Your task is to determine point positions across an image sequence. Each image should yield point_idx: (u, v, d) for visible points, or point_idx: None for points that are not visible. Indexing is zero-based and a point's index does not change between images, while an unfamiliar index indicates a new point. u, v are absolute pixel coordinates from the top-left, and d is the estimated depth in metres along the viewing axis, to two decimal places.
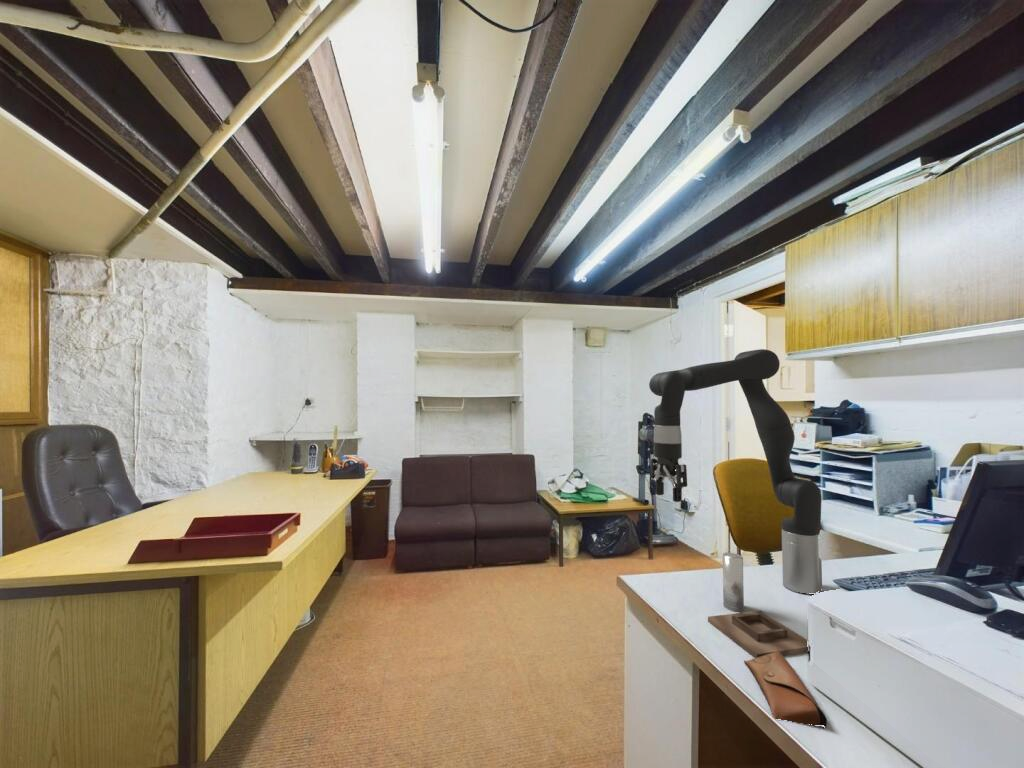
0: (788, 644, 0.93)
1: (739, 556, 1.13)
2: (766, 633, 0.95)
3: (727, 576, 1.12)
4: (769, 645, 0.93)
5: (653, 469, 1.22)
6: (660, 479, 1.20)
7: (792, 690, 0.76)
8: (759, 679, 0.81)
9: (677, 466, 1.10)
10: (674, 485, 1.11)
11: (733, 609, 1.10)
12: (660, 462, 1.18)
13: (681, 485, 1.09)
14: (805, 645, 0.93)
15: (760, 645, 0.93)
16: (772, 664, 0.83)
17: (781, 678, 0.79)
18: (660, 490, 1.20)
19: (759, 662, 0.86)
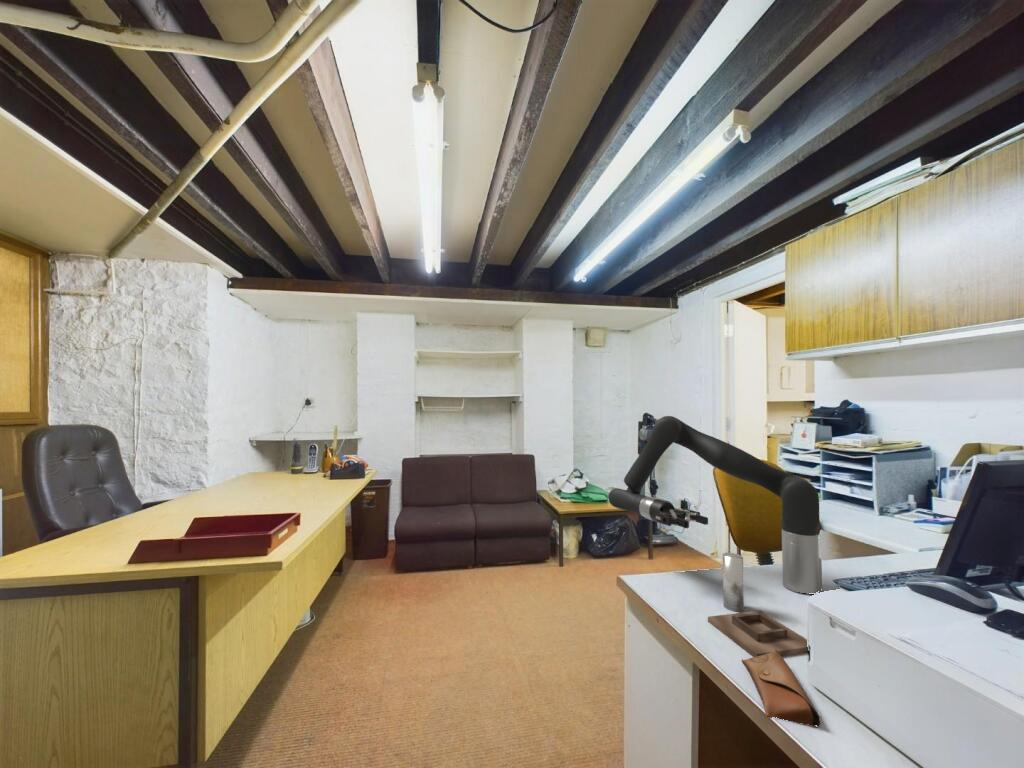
0: (788, 644, 0.93)
1: (739, 556, 1.13)
2: (766, 633, 0.95)
3: (727, 576, 1.12)
4: (769, 645, 0.93)
5: (691, 517, 1.32)
6: (694, 516, 1.29)
7: (786, 689, 0.76)
8: (755, 678, 0.82)
9: None
10: None
11: (733, 609, 1.10)
12: None
13: (668, 523, 1.24)
14: (805, 645, 0.93)
15: (760, 645, 0.93)
16: (768, 663, 0.83)
17: (777, 677, 0.79)
18: (702, 520, 1.26)
19: (756, 662, 0.86)
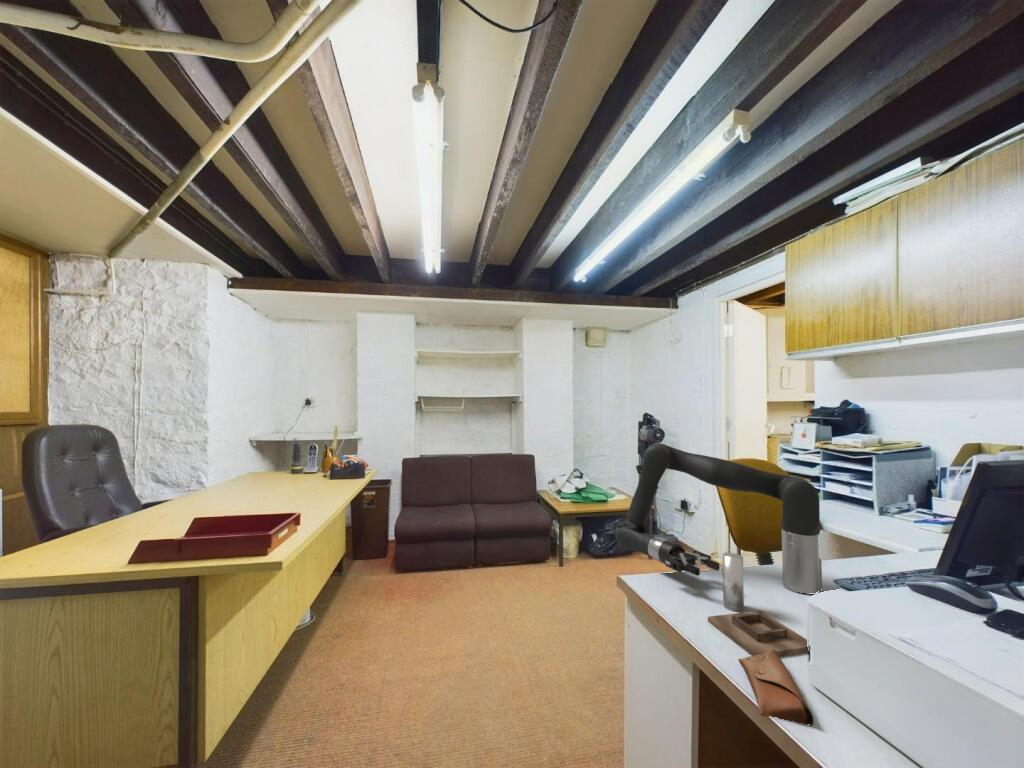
0: (788, 644, 0.93)
1: (739, 556, 1.13)
2: (766, 633, 0.95)
3: (727, 576, 1.12)
4: (769, 645, 0.93)
5: (701, 561, 1.29)
6: (705, 561, 1.25)
7: (781, 688, 0.77)
8: (750, 676, 0.82)
9: None
10: None
11: (733, 609, 1.10)
12: None
13: (678, 569, 1.21)
14: (805, 645, 0.93)
15: (760, 645, 0.93)
16: (764, 662, 0.83)
17: (772, 676, 0.79)
18: (713, 565, 1.23)
19: (752, 661, 0.86)
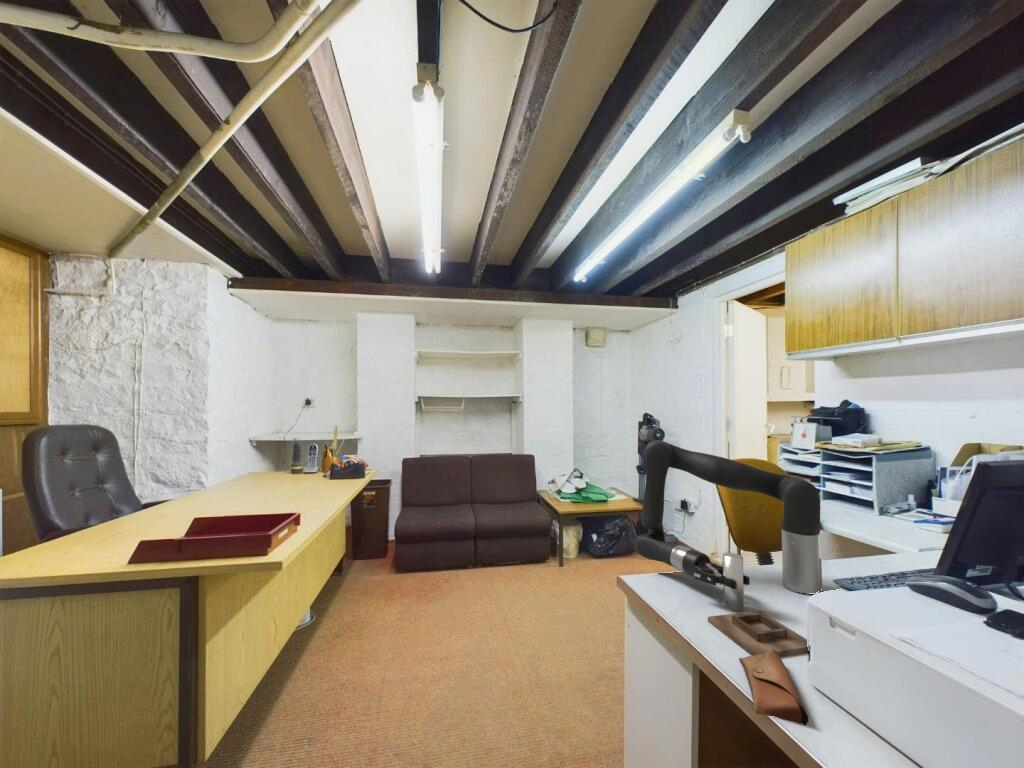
0: (788, 644, 0.93)
1: (739, 556, 1.13)
2: (766, 633, 0.95)
3: (727, 576, 1.12)
4: (769, 645, 0.93)
5: None
6: None
7: (778, 687, 0.77)
8: (748, 675, 0.83)
9: None
10: None
11: (733, 609, 1.10)
12: None
13: (712, 582, 1.12)
14: (805, 645, 0.93)
15: (760, 645, 0.93)
16: (763, 662, 0.83)
17: (769, 675, 0.80)
18: (743, 579, 1.13)
19: (752, 660, 0.86)
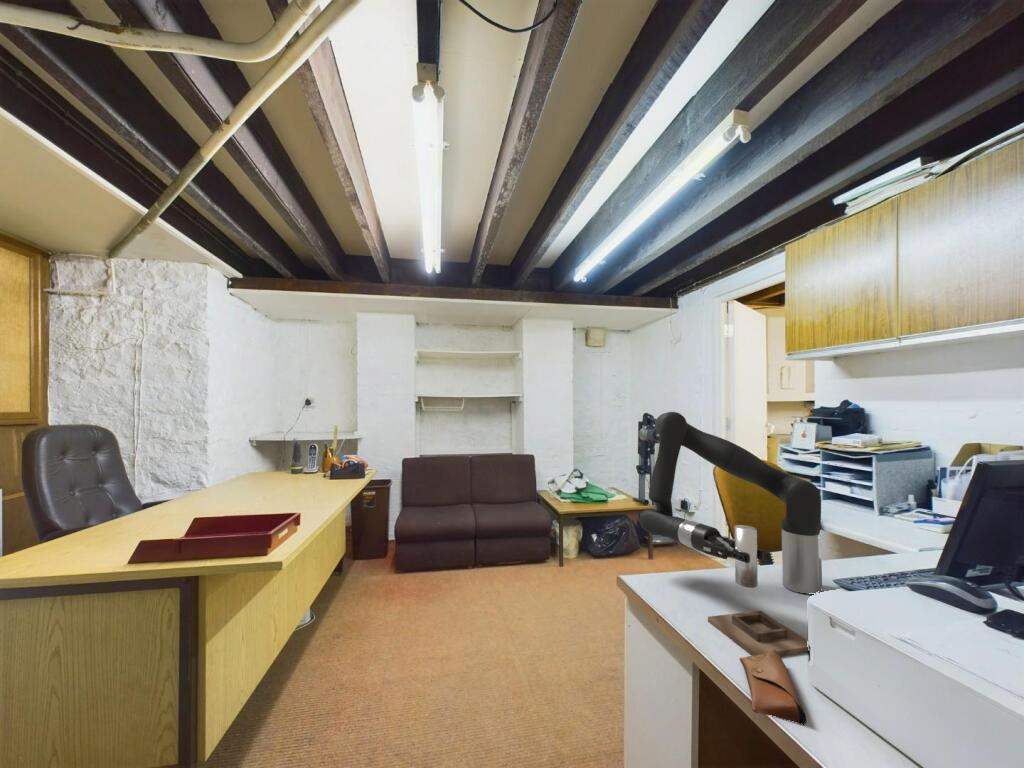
0: (788, 644, 0.93)
1: (753, 528, 1.04)
2: (766, 633, 0.95)
3: (739, 549, 1.03)
4: (769, 645, 0.93)
5: None
6: None
7: (776, 686, 0.77)
8: (748, 674, 0.83)
9: None
10: None
11: (746, 585, 1.02)
12: None
13: (723, 556, 1.04)
14: (805, 645, 0.93)
15: (760, 645, 0.93)
16: (763, 661, 0.84)
17: (768, 675, 0.80)
18: (757, 553, 1.04)
19: (752, 660, 0.87)
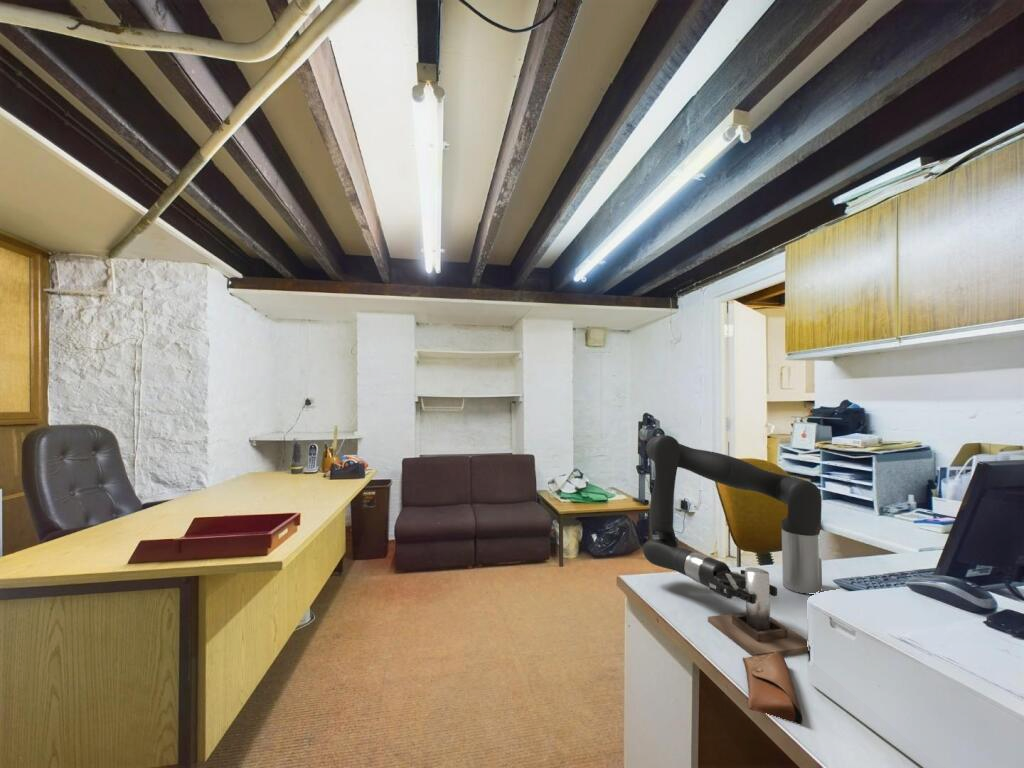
0: (788, 644, 0.93)
1: (765, 572, 0.99)
2: (766, 633, 0.95)
3: None
4: (769, 645, 0.93)
5: None
6: None
7: (775, 686, 0.77)
8: (748, 674, 0.83)
9: None
10: None
11: None
12: None
13: (727, 595, 0.99)
14: (805, 645, 0.93)
15: (760, 645, 0.93)
16: (764, 662, 0.84)
17: (768, 674, 0.80)
18: (769, 590, 1.01)
19: (754, 660, 0.87)
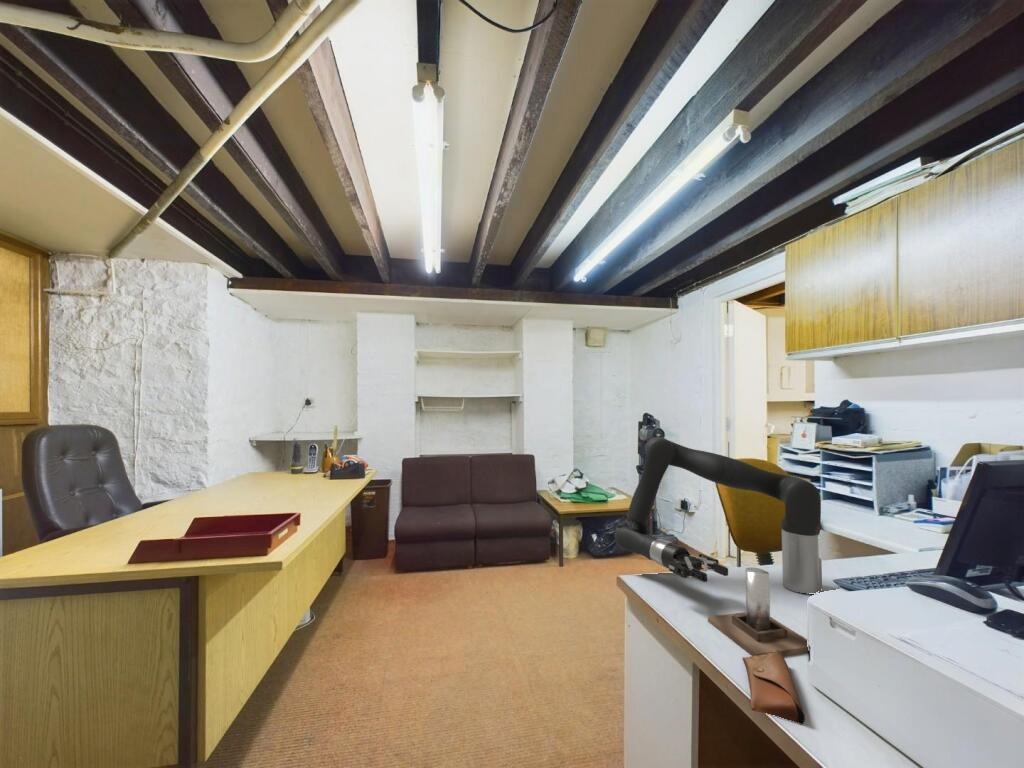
0: (788, 644, 0.93)
1: (765, 572, 0.99)
2: (766, 633, 0.95)
3: (751, 595, 0.98)
4: (769, 645, 0.93)
5: (708, 565, 1.18)
6: (712, 565, 1.15)
7: (776, 686, 0.77)
8: (749, 674, 0.83)
9: None
10: None
11: None
12: None
13: (683, 575, 1.10)
14: (805, 645, 0.93)
15: (760, 645, 0.93)
16: (765, 661, 0.84)
17: (769, 674, 0.80)
18: (721, 570, 1.12)
19: (755, 659, 0.87)
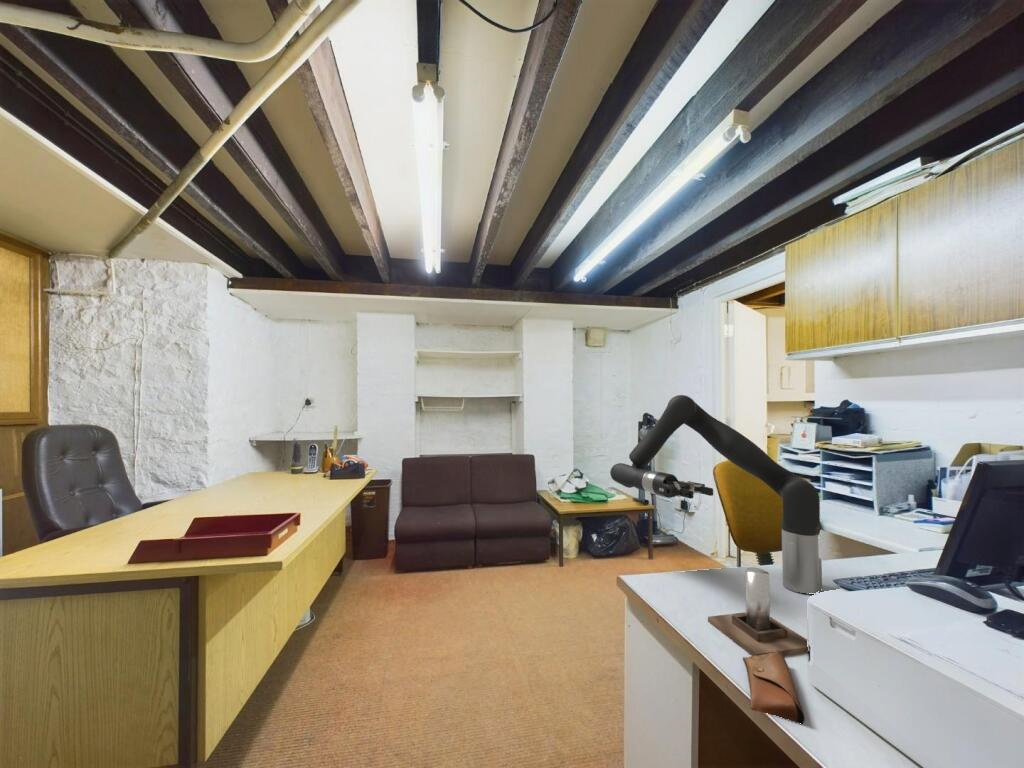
0: (788, 644, 0.93)
1: (765, 572, 0.99)
2: (766, 633, 0.95)
3: (751, 594, 0.98)
4: (769, 645, 0.93)
5: (695, 490, 1.28)
6: (699, 488, 1.25)
7: (776, 686, 0.77)
8: (749, 674, 0.83)
9: None
10: None
11: None
12: None
13: (671, 494, 1.20)
14: (805, 645, 0.93)
15: (760, 645, 0.93)
16: (765, 661, 0.84)
17: (769, 674, 0.80)
18: (707, 491, 1.22)
19: (755, 659, 0.87)
